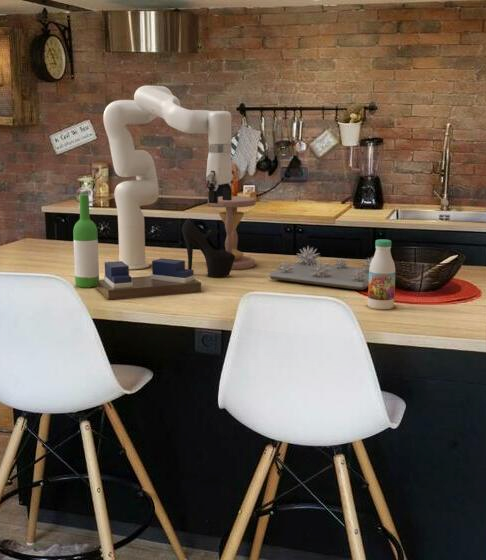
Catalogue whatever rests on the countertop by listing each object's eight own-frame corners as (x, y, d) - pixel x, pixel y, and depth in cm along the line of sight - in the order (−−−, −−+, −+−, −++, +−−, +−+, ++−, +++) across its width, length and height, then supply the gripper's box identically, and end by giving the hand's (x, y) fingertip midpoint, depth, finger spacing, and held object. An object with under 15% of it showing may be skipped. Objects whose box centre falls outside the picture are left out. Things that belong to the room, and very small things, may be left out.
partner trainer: (104, 280, 253) (103, 262, 252) (122, 278, 256) (121, 260, 254) (113, 288, 242) (112, 269, 240) (132, 287, 244) (132, 268, 243)
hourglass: (245, 271, 284) (246, 202, 278) (200, 268, 289) (200, 200, 284) (260, 262, 300) (261, 197, 295) (218, 259, 305) (217, 195, 300)
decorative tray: (267, 281, 268) (267, 252, 265) (299, 268, 290) (299, 241, 288) (364, 292, 251) (365, 262, 249) (390, 278, 274) (391, 250, 271)
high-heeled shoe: (232, 278, 271) (233, 221, 267) (179, 276, 275) (179, 219, 270) (237, 274, 279) (238, 218, 274) (186, 271, 282) (185, 216, 278)
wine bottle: (78, 282, 263) (74, 193, 257) (101, 283, 263) (98, 193, 257) (72, 288, 256) (68, 195, 249) (96, 288, 255) (93, 196, 249)
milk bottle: (364, 303, 237) (367, 238, 233) (390, 303, 238) (393, 238, 234) (370, 310, 230) (373, 242, 226) (396, 309, 230) (400, 242, 226)
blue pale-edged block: (150, 279, 256) (150, 260, 255) (161, 275, 261) (160, 257, 260) (184, 283, 250) (184, 264, 249) (194, 279, 255) (194, 261, 254)
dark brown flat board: (97, 288, 255) (96, 279, 254) (185, 281, 266) (185, 273, 265) (108, 299, 240) (108, 290, 240) (201, 291, 252) (201, 282, 251)
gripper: (222, 148, 267) (222, 198, 270) (197, 150, 251) (197, 203, 255) (242, 148, 264) (241, 199, 267) (217, 150, 248) (218, 205, 252)
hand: (220, 201), depth 261 cm, fingers open, 9 cm apart
